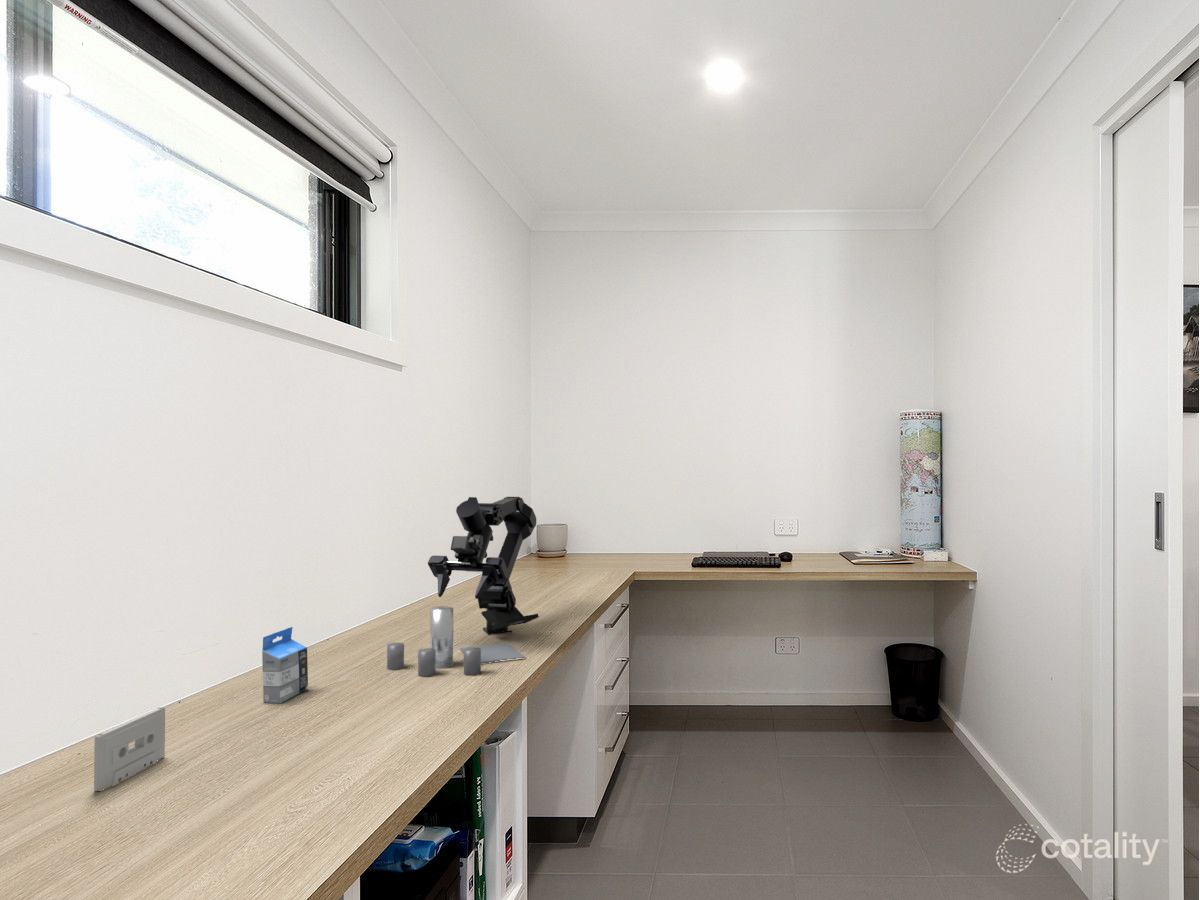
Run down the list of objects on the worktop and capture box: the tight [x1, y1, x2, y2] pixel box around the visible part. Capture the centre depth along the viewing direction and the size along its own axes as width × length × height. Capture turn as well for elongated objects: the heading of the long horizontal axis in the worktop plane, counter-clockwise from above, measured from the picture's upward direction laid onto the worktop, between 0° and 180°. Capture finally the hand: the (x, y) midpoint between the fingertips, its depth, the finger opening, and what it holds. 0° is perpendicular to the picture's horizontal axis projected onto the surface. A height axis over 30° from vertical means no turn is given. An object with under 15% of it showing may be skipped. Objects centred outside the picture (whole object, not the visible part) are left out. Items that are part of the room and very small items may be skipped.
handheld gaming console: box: [480, 606, 540, 630], centre depth 186 cm, size 11×10×4 cm
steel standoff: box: [429, 605, 454, 670], centre depth 160 cm, size 5×5×12 cm
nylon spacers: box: [386, 642, 482, 678], centre depth 154 cm, size 7×22×5 cm, turn 77°
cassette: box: [93, 707, 166, 792], centre depth 104 cm, size 12×2×8 cm, turn 171°
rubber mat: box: [459, 642, 526, 665], centre depth 168 cm, size 14×12×1 cm
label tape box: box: [261, 626, 309, 704], centre depth 139 cm, size 9×4×12 cm, turn 168°
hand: (457, 597), depth 168 cm, fingers open, 9 cm apart
